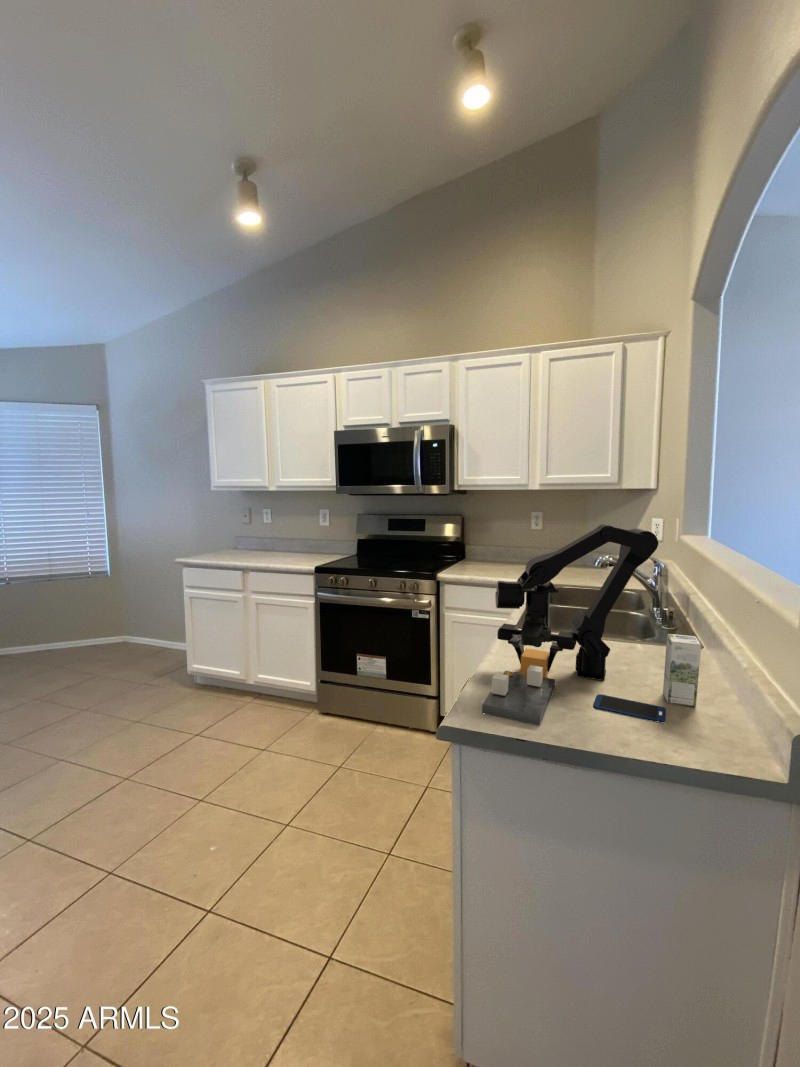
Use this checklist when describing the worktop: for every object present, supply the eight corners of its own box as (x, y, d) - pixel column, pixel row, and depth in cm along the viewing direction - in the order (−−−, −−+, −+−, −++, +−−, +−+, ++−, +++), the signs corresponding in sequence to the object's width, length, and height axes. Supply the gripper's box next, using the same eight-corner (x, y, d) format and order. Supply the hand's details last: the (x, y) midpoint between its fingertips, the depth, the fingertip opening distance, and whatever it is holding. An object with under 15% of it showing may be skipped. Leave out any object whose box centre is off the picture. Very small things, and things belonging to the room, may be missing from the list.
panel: (555, 687, 118) (555, 677, 118) (539, 725, 100) (540, 714, 100) (505, 678, 123) (505, 669, 123) (481, 713, 105) (482, 702, 105)
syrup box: (690, 696, 113) (695, 635, 111) (696, 708, 108) (701, 643, 106) (662, 693, 115) (666, 632, 113) (667, 704, 110) (671, 640, 108)
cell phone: (664, 725, 101) (665, 721, 101) (592, 709, 108) (592, 706, 108) (665, 710, 108) (666, 707, 107) (597, 696, 114) (597, 693, 114)
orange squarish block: (549, 670, 128) (550, 652, 128) (545, 679, 123) (546, 660, 122) (525, 666, 131) (526, 648, 130) (520, 674, 126) (520, 656, 125)
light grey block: (542, 681, 116) (542, 667, 115) (540, 686, 113) (540, 671, 113) (529, 679, 117) (529, 665, 117) (526, 684, 114) (527, 669, 114)
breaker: (508, 690, 111) (508, 675, 111) (504, 695, 109) (505, 680, 108) (495, 687, 113) (495, 672, 112) (491, 693, 110) (491, 677, 109)
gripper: (492, 612, 122) (490, 673, 124) (572, 622, 114) (569, 687, 116) (503, 601, 132) (502, 658, 134) (578, 610, 124) (575, 670, 126)
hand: (535, 668), depth 127 cm, fingers closed on orange squarish block, 6 cm apart
